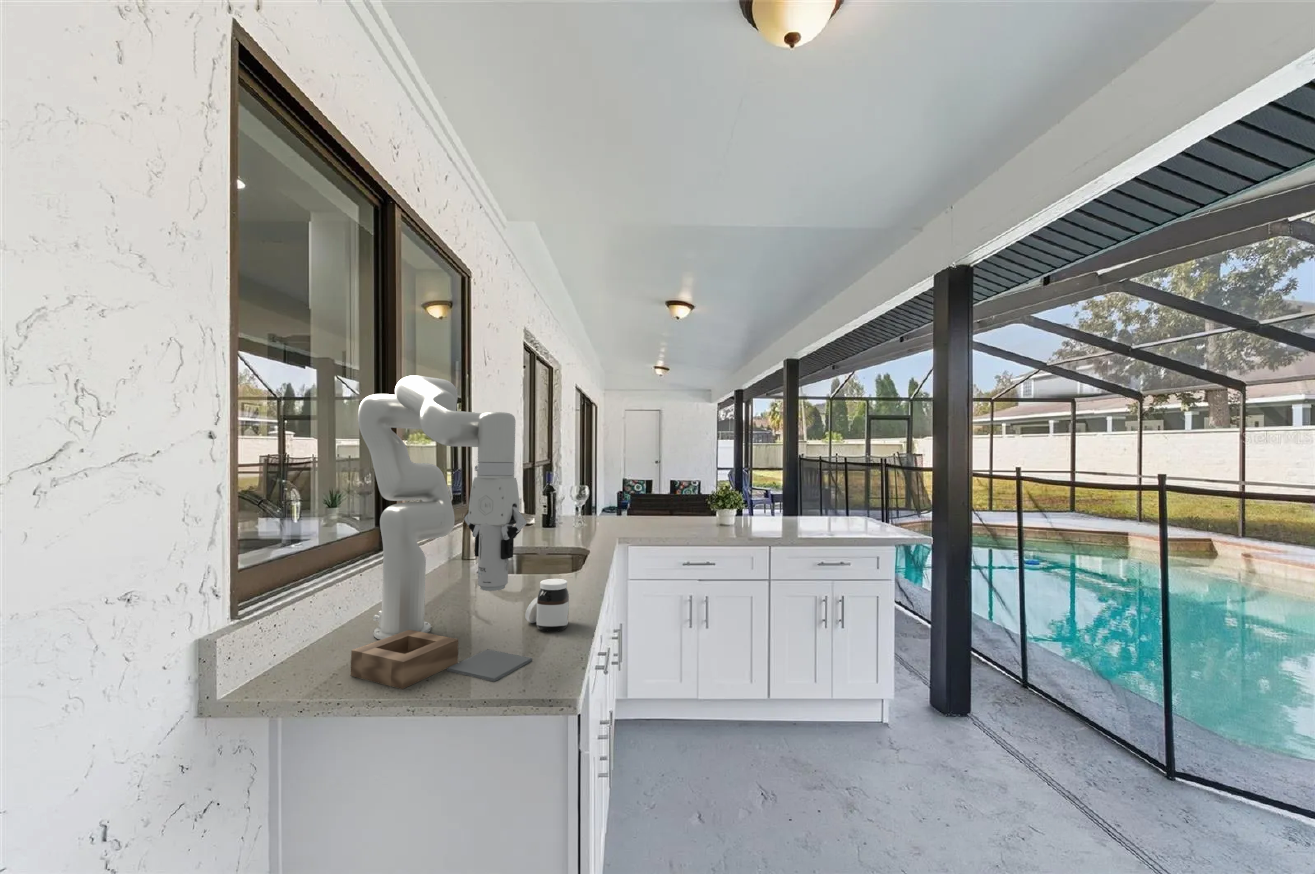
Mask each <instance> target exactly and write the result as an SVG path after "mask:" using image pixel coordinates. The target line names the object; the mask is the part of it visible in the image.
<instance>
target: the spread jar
mask: <svg viewBox="0 0 1315 874" xmlns="http://www.w3.org/2000/svg"><path fill="white" fill-rule="evenodd" d="M539 588H540V589H539V591H538V593H537V596H536V597H534V599H532V601H531V602H530V603H529V605H528V606H527V608H526V610H525V612H524V613H525V615H524V617H525V620H526V621H527V622H528V623H530V624H534V623H536V627H537V629H539V631H541V632H547V633H549V632H550V633H555V632H560V631H563V630H565V629H567V627H568V625H569V624H568V623H569V617H570V616H569V615H570V607H569V606H570V593H569V589H568V580H566V579H564V578H548V579H543V580H541V581H540V582H539Z"/></svg>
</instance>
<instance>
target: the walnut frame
mask: <svg viewBox="0 0 1315 874" xmlns="http://www.w3.org/2000/svg"><path fill="white" fill-rule="evenodd" d="M350 655H351V656H350V677H354V678H358V679H362V680H365V681H370V682H373V683H377V684H380V685H384V686H388V687H393V688H396V689H400V690H404V689H406V688H408V687H411V686H412V685H414V684H417V683H419V682H421V681H423V680H425V679H427V678H429V677H431V676H434V675H435V674H439V673H440V672H442V671H444V670H447V668H448V667H450V666H452V665H454V664H457V663H459V662H458V661H459V638H456V637H450V636H445V635H439V634H432V633H429V632H428V633H424V632H419V631H414V630H407V631H404V632H401V633H399V634H396V635H393V636H390V637H387V638H384V639H382V640H380V639H378V640H376V641H374V642H370V643H367V644H365V645H362V646H360V647H356V648H353V649H351V652H350Z"/></svg>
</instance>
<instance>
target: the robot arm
mask: <svg viewBox="0 0 1315 874" xmlns="http://www.w3.org/2000/svg"><path fill="white" fill-rule="evenodd" d="M458 398H459V397H458V391H457V387H456V386H455V385H454V383H452V382H451V381H450V380H447V379H444V378H437V377H432V376H431V377H430V376H422V375H408V376H404V377H402V378H401V379H400V380H398V382H397V383H396V385H395V388H394V394H389V393H375V394H370V395H368V396H366V397H365V398H363V399H362V401H360V404H359V407H358V412H357V422H358V423H357V424H358V428H359V431H360V434H361V436H362V439H363V441H364V443H365V444H366V447H367V448H368V451H369V455H370V457H371V463H372V465H373V469H374V470H373V471H374V474H375V475H374V476H375V479H376V482H377V487H378V491H379V493H380V496H381V497H382V498H383V499H385V500H387V501H392V502H393V501H394V502H396V501H397V502H398V503H395V504H392V505H389V506H387V507H386V508H385V509H384V510H383V511H382V513H381V514H380V518H379V528H380V532H381V533H380V534H381V538H382V539H381V541H382V552H383V553H382V554H383V555H382V557H383V559H382V560H383V561H382V589H381V590H382V592H381V593H382V594H381V610H379V611H378V612H377V614H374V615H373V617H372V620H373V621H375V622H378V627H376V628H374V630H373V637H374V638H375V639H378V640H382V639H384V638H387V637H390V636H393V635H396V634H399V633H401V632H404V631H407V630H414V631H419V632H424V633H429V632H430V631H431V629H432V628H431V627H432V626H431V623H429V622H428V621H425V604H426V603H425V602H426V601H425V600H426V597H425V596H426V571H427V568H426V565H427V561H426V560H427V559H426V555H425V552H424V551H423V549H422V548H421V547H420V545H419V544H418V541H423V540H431V539H432V540H433V539H439V538H443V537H446V536H448V535H449V534H451V532H452V531H453V529H454V527H455V522H456V521H455V520H456V519H455V512H454V508H453V504H452V500H451V497H450V493H449V492H450V491H449V488H448V486H447V482H446V479H445V476H444V472H442V470H441V469H440V468H439V466H437V465H435V464H432V463H428V462H427V463H426V462H413V461H412V460H411V459H410V456H409V451H408V447H407V445H406V444H405V442H404V441H403V440H402V438H401V437H400V436H399V435H398V434H397V433H396V432H394V431H393V430H392V428H394V429H411V430H413V429H414V430H415V429H416V430H422V433H424V434H425V435H426V436H427V437H429V438H431V439H432V440H433V441H435V442H436V443H438V444H441V445H443V446H447V447H469V448H477V463H476V465H474V471H476V473H477V474H476V475H477V476H476V477H475V476H474V477H473V480H472V484H471V488H470V495H469V504H468V513H467V514H466V515H465V516H464V519H463V520H464V521H465V523H466V524H467V526H468V528H469V530H470V531H471V533H472V537H473V538H474V557H476V558H477V557H478V558H479V525H480V524H483V523H487V524H489V525H492V526H497V527H501V531H502V534H503V538H504V540H501V559H503V560H504V559H508V560H509V559H512V558H513V557H514V542H515V541H514V539H516V538H517V536H518V534H519V533H520V532H521V530H523V528H525V527H526V525H527V520H526V519H525V517H524V516H523V515H522V513H521V512H520V494H519V485H518V479H517V477H515V462H516V461H515V459H516V418H515V415H513V414H512V413H509V412H502V411H501V412H500V411H488V412H483V413H482V412H471V411H461V410H457V407H458V406H457V405H458V404H457V403H458ZM415 500H416V501H415ZM417 500H419V501H417ZM400 501H409V502H400ZM399 502H400V503H399ZM507 523H508V524H507ZM507 527H508V529H507ZM508 530H509V532H508Z"/></svg>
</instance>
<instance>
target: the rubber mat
mask: <svg viewBox="0 0 1315 874" xmlns="http://www.w3.org/2000/svg"><path fill="white" fill-rule="evenodd" d="M532 661H533V657H530V656H525V655H520V654H516V653H515V654H514V653H510V652H509V653H508V652H505V651H500V650H496V649H495V650H494V649H488V648H487V649H485V650H483V651H480V652H478V653H476V654H474V655H472V656H470V657H467V658H466V659H463V660H461V661H459V662H458V663H457V664H454V665H452V666H450V667H448V668H447V669H446V672H451V673H454V674H458V675H463V676H467V677H472V678H477V679H480V680H485V681H490V682H497V681H498V680H500V679H501V678H503V677H506V676H508V675H509V674H510V673H512V672H514V671H517V669H520V668H521V667H523V666H525V665H527V664H529V663H530V662H532Z"/></svg>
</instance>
